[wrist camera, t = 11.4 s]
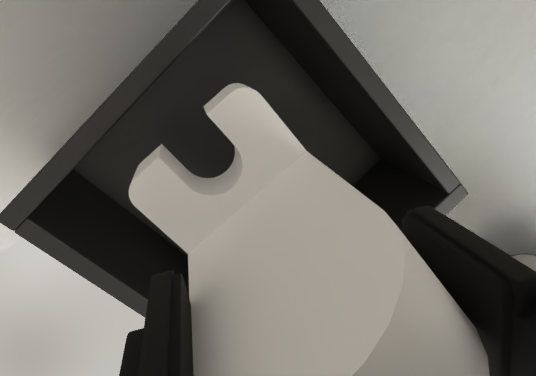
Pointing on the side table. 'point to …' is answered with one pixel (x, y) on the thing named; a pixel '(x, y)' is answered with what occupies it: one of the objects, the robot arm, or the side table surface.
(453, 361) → the cable organizer
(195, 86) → the basket
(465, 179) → the side table surface
